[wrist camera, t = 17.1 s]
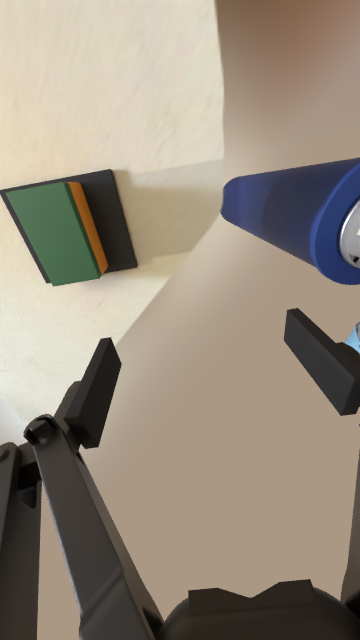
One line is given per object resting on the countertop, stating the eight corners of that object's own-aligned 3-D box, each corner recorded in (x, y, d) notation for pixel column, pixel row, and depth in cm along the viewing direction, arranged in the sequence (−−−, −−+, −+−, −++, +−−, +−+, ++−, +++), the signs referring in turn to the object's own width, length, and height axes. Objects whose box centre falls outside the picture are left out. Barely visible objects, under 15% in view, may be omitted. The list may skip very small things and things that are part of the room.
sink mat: (111, 169, 30) (110, 169, 29) (137, 266, 37) (136, 267, 37) (1, 190, 31) (-3, 190, 30) (48, 281, 38) (46, 283, 37)
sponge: (32, 191, 30) (5, 192, 25) (80, 182, 30) (63, 181, 25) (68, 272, 37) (53, 286, 31) (108, 265, 36) (99, 278, 31)
